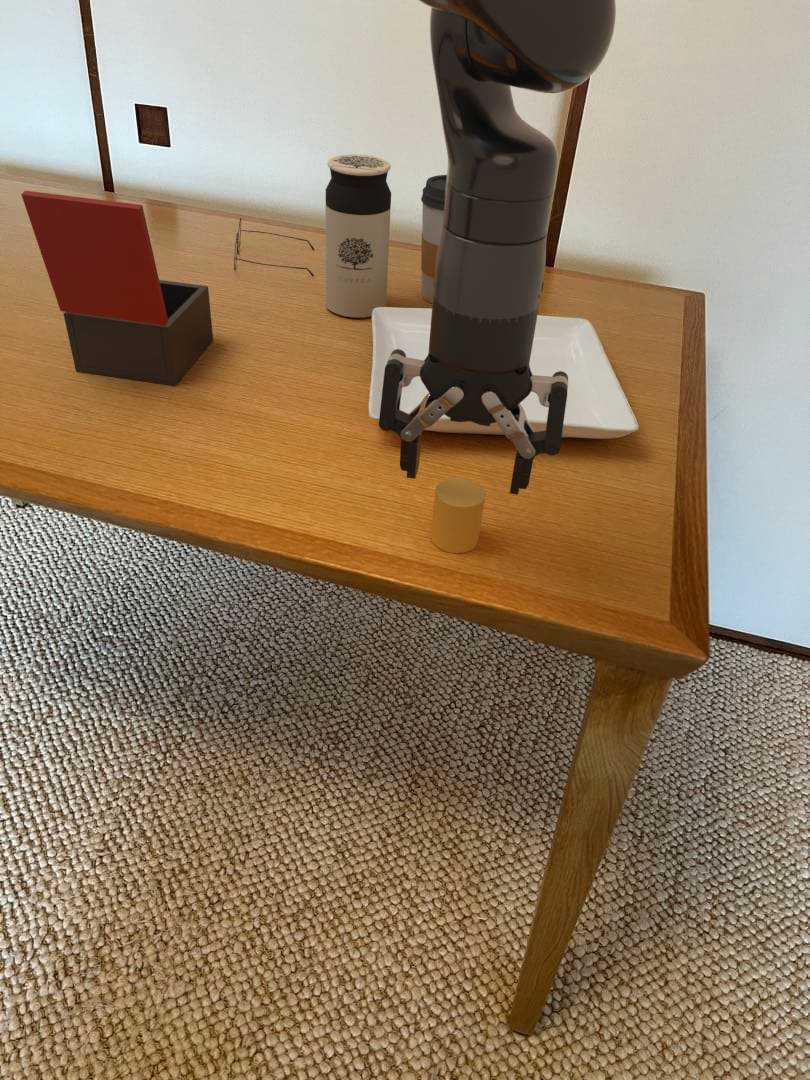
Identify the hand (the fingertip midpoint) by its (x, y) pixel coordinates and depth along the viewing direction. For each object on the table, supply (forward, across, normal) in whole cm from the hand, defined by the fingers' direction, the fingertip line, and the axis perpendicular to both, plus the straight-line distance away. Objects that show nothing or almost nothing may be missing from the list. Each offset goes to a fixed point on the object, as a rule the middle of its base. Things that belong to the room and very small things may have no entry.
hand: (463, 481), depth 67 cm
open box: (+6, -39, +24) cm, 47 cm away
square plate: (+6, 0, +28) cm, 29 cm away
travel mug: (+6, -20, +45) cm, 49 cm away
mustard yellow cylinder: (+6, 0, 0) cm, 6 cm away
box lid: (-8, -39, +18) cm, 44 cm away
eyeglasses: (+6, -34, +57) cm, 67 cm away
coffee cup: (+6, -9, +52) cm, 53 cm away
